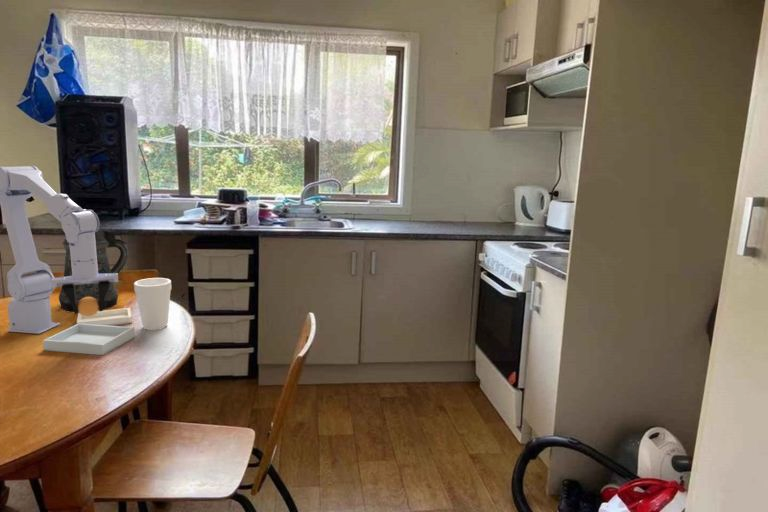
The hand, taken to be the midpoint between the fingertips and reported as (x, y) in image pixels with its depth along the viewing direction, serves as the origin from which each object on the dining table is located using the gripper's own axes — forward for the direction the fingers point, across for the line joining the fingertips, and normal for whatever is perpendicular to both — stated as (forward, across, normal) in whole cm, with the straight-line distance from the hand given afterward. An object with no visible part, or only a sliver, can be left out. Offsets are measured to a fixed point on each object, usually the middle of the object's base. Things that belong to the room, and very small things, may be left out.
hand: (88, 311), depth 136 cm
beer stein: (+9, 0, +37) cm, 38 cm away
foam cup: (+9, +16, +7) cm, 19 cm away
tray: (+8, 0, 0) cm, 9 cm away
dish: (+8, +3, +17) cm, 19 cm away
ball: (-1, 0, 0) cm, 1 cm away
